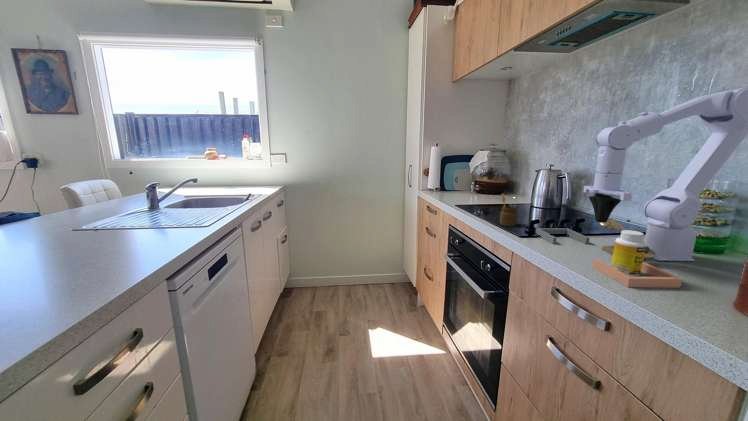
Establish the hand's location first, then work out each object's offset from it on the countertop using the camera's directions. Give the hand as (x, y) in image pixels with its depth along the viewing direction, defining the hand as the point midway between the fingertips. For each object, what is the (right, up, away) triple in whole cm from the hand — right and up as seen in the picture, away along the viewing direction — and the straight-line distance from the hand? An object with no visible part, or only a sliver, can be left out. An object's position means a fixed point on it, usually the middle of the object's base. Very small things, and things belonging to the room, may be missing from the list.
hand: (600, 221), depth 81 cm
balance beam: (+7, -5, +1) cm, 9 cm away
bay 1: (-1, -6, +15) cm, 17 cm away
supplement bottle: (-3, -12, -11) cm, 16 cm away
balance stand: (+7, -9, +1) cm, 12 cm away
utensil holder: (-10, -3, +34) cm, 36 cm away
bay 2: (-2, -12, -12) cm, 17 cm away
